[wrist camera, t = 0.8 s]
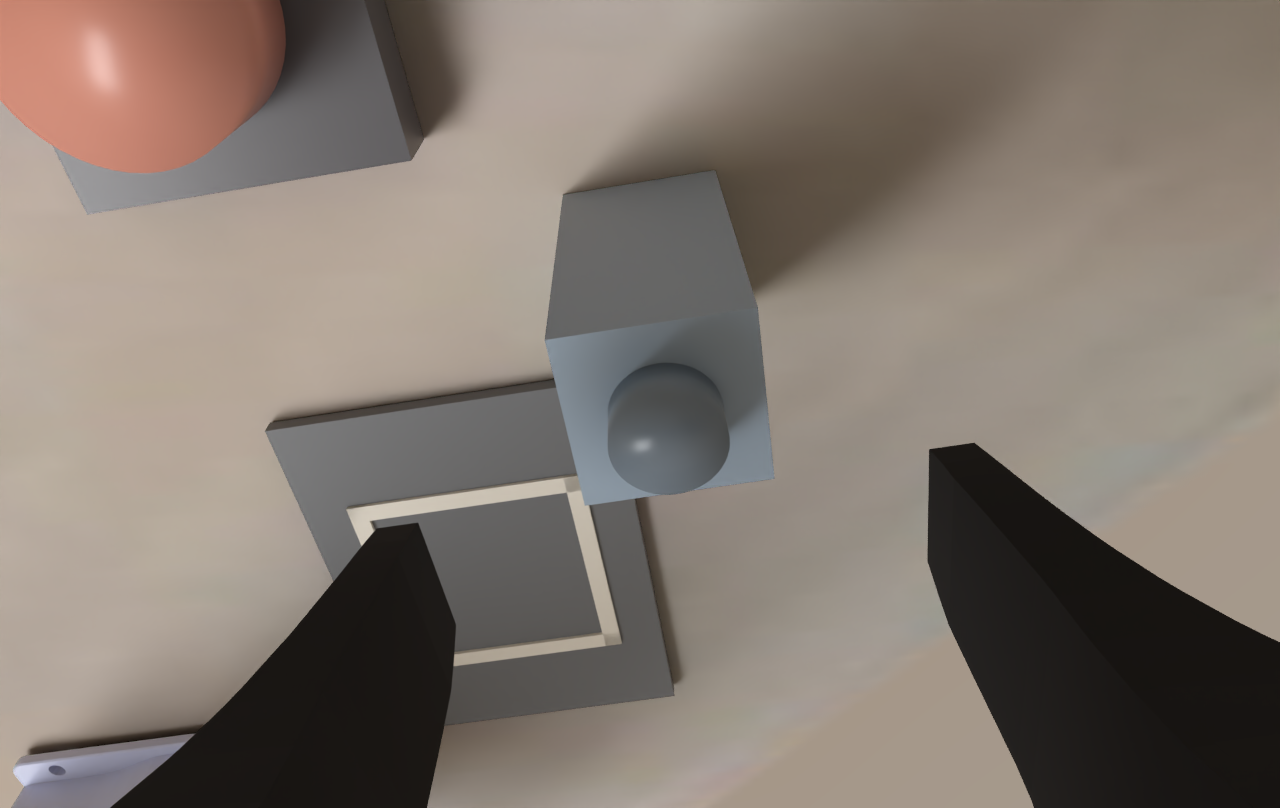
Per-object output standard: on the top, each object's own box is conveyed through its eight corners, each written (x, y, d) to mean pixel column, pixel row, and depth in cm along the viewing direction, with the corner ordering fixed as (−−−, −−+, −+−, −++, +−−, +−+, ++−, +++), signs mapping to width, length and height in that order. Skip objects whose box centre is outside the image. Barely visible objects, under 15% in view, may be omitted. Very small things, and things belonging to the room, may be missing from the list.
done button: (101, 154, 18) (43, 192, 16) (-20, -100, 16) (-105, -91, 14) (319, 117, 18) (285, 150, 16) (229, -147, 15) (177, -143, 13)
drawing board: (404, 721, 30) (401, 733, 30) (270, 422, 24) (264, 433, 23) (673, 685, 30) (674, 698, 29) (609, 371, 23) (610, 381, 23)
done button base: (119, 190, 20) (87, 214, 19) (-56, -175, 17) (-110, -176, 15) (423, 139, 20) (411, 160, 19) (314, -247, 16) (289, -253, 15)
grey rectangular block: (590, 329, 23) (583, 541, 16) (562, 194, 21) (540, 370, 14) (730, 307, 23) (783, 513, 16) (715, 170, 21) (766, 336, 14)
